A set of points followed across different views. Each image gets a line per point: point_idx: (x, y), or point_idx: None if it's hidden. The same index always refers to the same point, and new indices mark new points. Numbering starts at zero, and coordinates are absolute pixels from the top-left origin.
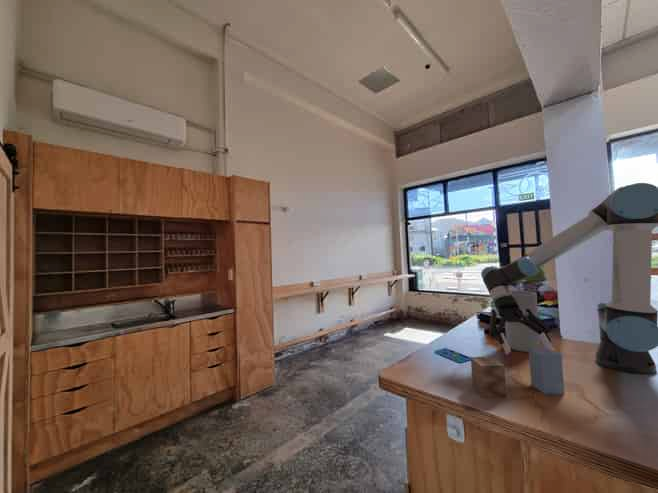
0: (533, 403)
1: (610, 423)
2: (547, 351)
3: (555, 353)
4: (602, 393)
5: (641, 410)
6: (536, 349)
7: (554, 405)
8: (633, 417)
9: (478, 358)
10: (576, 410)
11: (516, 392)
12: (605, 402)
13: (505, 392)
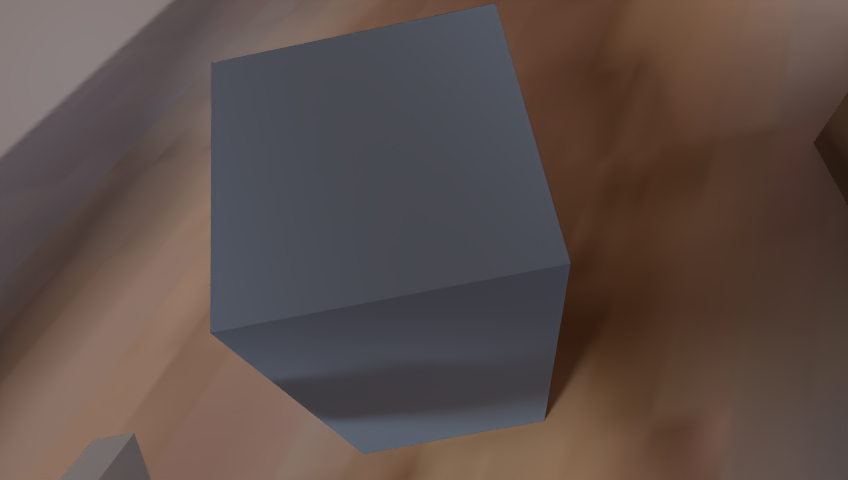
0: (633, 107)
1: (310, 11)
2: (325, 149)
3: (262, 88)
4: (64, 344)
5: (39, 162)
6: (453, 214)
7: None
8: (151, 85)
9: None
10: None
11: (719, 238)
12: (157, 214)
13: (837, 115)
